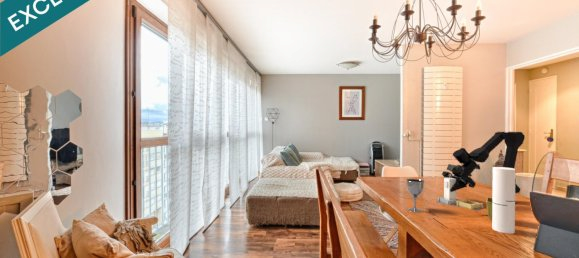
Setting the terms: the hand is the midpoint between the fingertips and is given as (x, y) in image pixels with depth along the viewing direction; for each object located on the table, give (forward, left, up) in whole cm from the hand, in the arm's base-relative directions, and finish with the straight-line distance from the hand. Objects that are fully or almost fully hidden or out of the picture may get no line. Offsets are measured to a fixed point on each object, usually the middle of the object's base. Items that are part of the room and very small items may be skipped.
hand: (447, 190), depth 145 cm
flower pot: (+11, +24, -8) cm, 28 cm away
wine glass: (+24, -7, -8) cm, 26 cm away
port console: (-2, +5, -8) cm, 9 cm away
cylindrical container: (+23, +28, -8) cm, 37 cm away
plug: (-1, +1, -7) cm, 7 cm away
